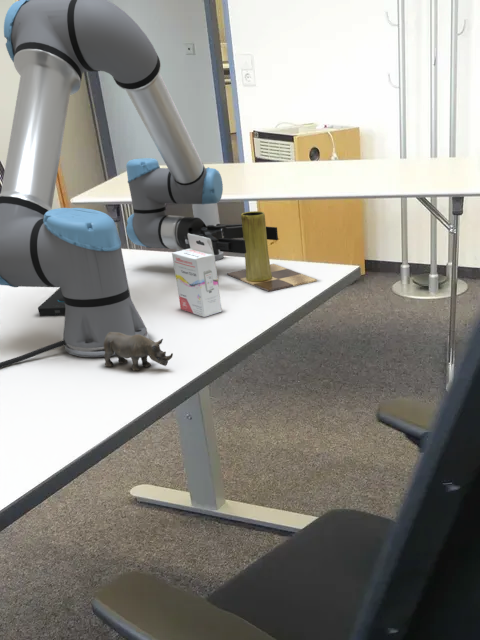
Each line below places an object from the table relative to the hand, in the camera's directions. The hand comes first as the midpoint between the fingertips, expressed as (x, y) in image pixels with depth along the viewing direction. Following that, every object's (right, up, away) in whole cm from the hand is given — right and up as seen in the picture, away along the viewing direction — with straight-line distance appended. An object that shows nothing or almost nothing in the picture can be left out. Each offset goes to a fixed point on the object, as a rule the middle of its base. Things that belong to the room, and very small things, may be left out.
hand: (261, 240), depth 172 cm
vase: (-1, -7, +6) cm, 9 cm away
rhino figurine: (-16, -38, -39) cm, 57 cm away
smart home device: (-41, -15, -4) cm, 44 cm away
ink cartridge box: (-11, -20, -13) cm, 26 cm away
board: (+1, -6, +7) cm, 10 cm away
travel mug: (-16, +5, +25) cm, 30 cm away
